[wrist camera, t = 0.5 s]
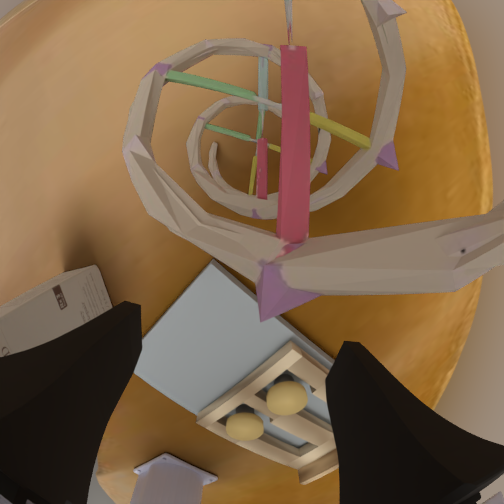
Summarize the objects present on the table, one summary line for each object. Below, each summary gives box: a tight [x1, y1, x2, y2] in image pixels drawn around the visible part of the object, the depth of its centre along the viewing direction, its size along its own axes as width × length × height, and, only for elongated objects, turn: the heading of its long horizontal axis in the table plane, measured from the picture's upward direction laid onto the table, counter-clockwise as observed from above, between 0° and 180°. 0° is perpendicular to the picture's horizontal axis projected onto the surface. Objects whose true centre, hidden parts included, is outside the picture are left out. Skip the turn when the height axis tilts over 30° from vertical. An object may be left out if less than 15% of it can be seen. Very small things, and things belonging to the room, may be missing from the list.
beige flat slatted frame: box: [196, 340, 339, 485], centre depth 19 cm, size 11×14×3 cm
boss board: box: [134, 259, 335, 449], centre depth 20 cm, size 12×23×4 cm, turn 47°
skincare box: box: [0, 265, 113, 357], centre depth 14 cm, size 6×4×12 cm
